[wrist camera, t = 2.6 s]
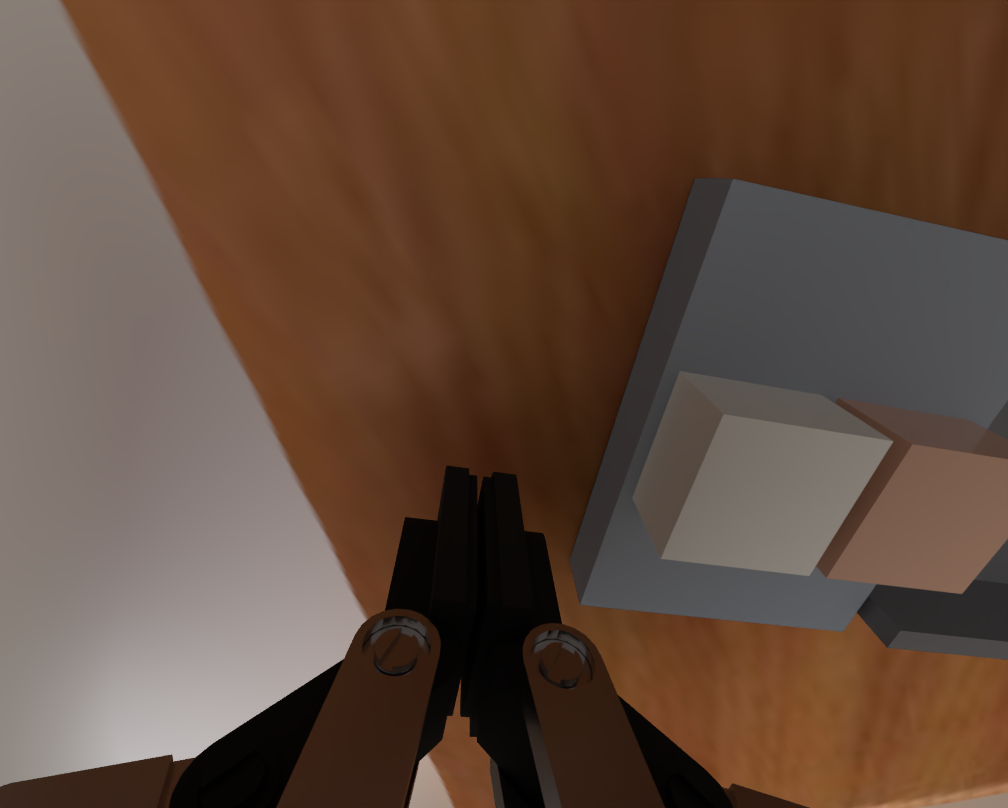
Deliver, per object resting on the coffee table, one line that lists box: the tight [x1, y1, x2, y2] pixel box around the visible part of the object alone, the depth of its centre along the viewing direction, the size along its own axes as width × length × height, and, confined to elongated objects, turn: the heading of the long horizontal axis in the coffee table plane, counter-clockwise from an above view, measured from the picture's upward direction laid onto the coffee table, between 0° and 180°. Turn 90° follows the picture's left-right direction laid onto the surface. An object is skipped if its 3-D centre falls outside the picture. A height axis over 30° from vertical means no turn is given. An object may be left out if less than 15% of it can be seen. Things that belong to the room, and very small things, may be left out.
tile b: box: [816, 398, 1008, 594], centre depth 16 cm, size 5×5×3 cm
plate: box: [570, 178, 1008, 632], centre depth 18 cm, size 16×12×2 cm
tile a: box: [632, 371, 893, 576], centre depth 15 cm, size 5×5×3 cm
